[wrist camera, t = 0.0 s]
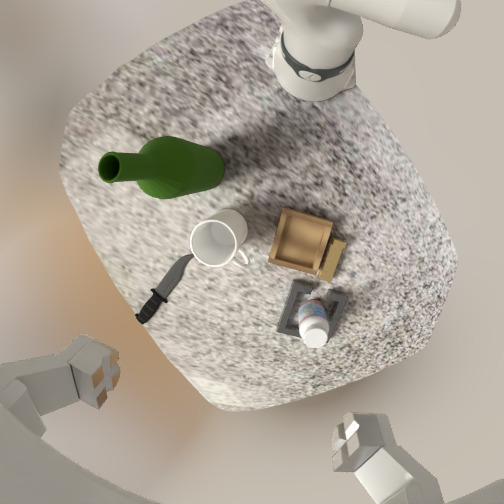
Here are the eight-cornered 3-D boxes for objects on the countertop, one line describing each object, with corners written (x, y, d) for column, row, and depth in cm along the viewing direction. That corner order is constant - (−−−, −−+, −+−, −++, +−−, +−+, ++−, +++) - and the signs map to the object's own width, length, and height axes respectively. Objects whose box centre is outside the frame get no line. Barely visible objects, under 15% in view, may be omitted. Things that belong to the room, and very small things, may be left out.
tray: (283, 206, 53) (283, 208, 50) (330, 220, 53) (333, 223, 50) (268, 257, 57) (268, 262, 54) (314, 270, 56) (315, 275, 53)
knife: (182, 245, 57) (200, 260, 57) (185, 243, 58) (202, 258, 59) (132, 316, 64) (146, 328, 64) (134, 313, 65) (149, 325, 66)
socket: (293, 279, 57) (293, 283, 55) (346, 293, 57) (347, 297, 55) (276, 327, 61) (276, 331, 59) (326, 338, 61) (327, 343, 59)
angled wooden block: (331, 236, 54) (334, 239, 51) (343, 239, 54) (346, 243, 51) (318, 275, 56) (320, 281, 53) (329, 278, 56) (331, 284, 53)
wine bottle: (191, 142, 52) (90, 115, 20) (231, 155, 52) (162, 132, 20) (177, 182, 54) (69, 198, 23) (216, 196, 54) (134, 227, 23)
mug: (266, 245, 56) (261, 263, 44) (234, 268, 58) (223, 291, 47) (229, 200, 54) (215, 207, 43) (199, 226, 56) (178, 239, 45)
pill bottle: (329, 314, 59) (337, 341, 48) (306, 326, 60) (309, 356, 49) (316, 294, 58) (322, 319, 47) (292, 307, 59) (294, 335, 48)
